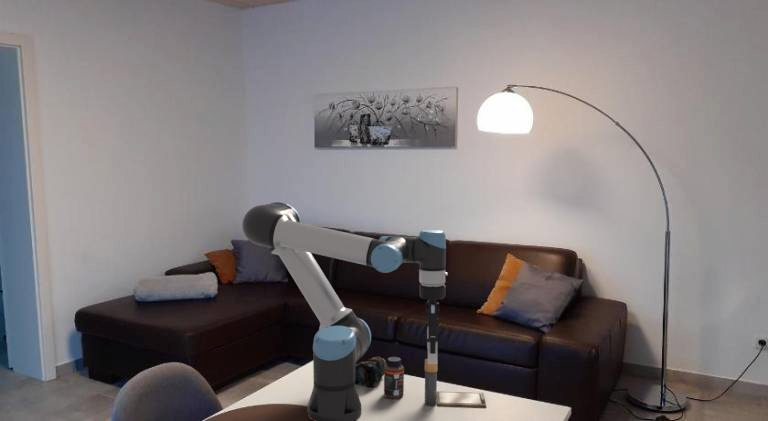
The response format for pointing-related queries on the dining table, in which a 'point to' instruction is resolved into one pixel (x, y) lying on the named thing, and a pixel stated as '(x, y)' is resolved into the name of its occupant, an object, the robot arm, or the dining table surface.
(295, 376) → the dining table surface
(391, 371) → the supplement bottle
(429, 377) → the marker
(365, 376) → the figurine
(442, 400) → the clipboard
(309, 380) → the dining table surface
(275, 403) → the dining table surface
